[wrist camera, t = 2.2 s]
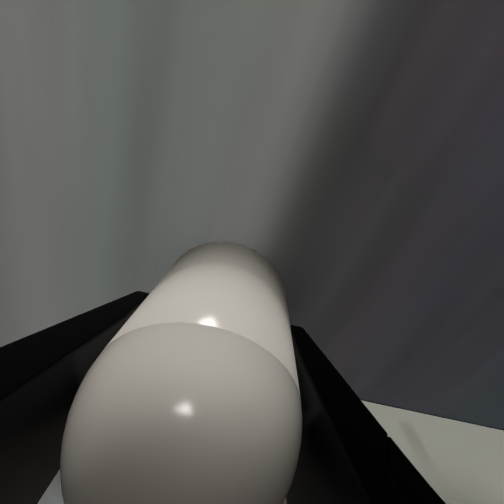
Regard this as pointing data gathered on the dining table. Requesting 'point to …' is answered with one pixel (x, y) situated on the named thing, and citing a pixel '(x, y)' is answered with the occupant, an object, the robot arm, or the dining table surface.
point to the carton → (448, 454)
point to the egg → (192, 392)
